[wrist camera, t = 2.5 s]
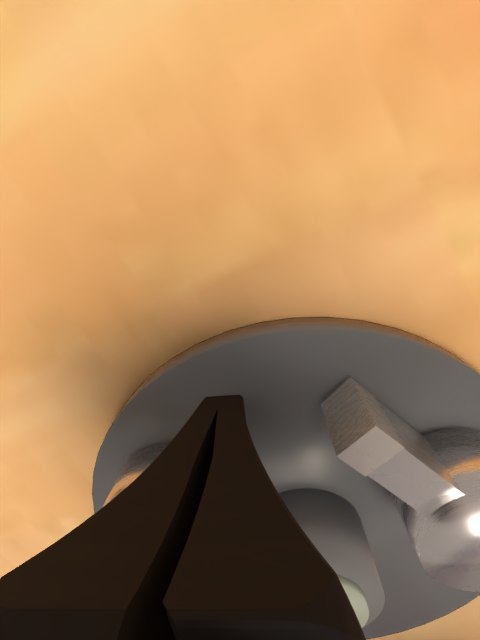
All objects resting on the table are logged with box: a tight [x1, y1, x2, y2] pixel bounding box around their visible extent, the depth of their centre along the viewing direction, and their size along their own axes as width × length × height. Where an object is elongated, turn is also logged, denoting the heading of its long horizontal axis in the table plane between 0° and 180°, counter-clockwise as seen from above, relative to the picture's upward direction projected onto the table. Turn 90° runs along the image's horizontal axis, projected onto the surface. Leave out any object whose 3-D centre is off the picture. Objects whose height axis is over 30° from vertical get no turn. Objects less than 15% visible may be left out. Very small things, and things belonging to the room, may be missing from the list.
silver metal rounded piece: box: [320, 377, 480, 592], centre depth 11 cm, size 8×5×3 cm, turn 51°
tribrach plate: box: [92, 317, 480, 639], centre depth 13 cm, size 20×20×5 cm
